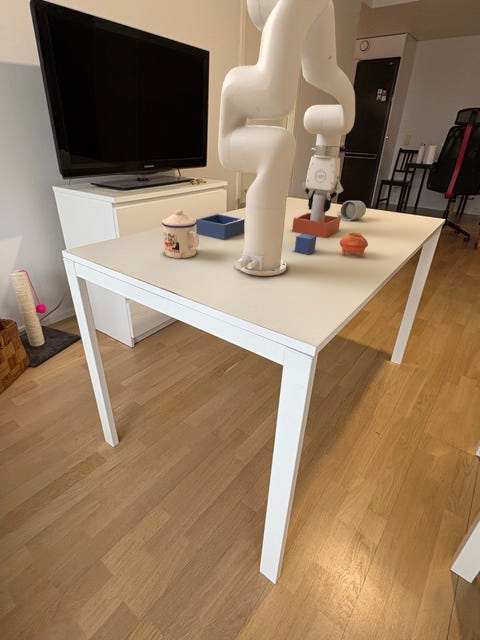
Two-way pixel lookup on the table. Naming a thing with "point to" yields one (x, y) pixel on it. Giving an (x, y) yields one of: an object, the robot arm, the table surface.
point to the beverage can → (318, 207)
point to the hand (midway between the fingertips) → (318, 209)
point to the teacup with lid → (180, 235)
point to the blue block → (305, 243)
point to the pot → (353, 243)
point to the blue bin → (220, 226)
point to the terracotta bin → (316, 225)
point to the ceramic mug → (352, 210)
